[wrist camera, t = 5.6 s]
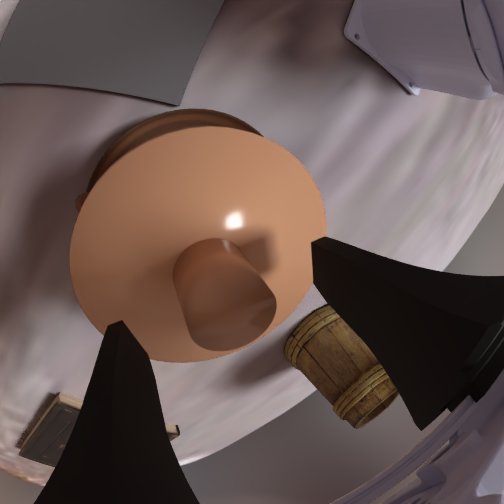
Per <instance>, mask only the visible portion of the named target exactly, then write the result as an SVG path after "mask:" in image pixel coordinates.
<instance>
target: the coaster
mask: <svg viewBox="0 0 504 504" xmlns="http://www.w3.org/2000/svg"><path fill="white" fill-rule="evenodd" d="M224 1H225V0H20V1H19V3H18V5H17V7H16V9H15V11H14V13H13V15H12V17H11V19H10V21H9V24H8V26H7V28H6V31H5V33H4V35H3V38H2V40H1V43H0V83H26V84H48V85H61V86H72V87H81V88H89V89H96V90H103V91H110V92H116V93H121V94H127V95H132V96H137V97H142V98H147V99H152V100H156V101H161V102H165V103H169V104H173V105H177V106H180V103H181V100H182V98H183V95H184V92H185V89H186V87H187V84H188V81H189V79H190V76H191V74H192V71H193V69H194V66H195V64H196V61H197V59H198V56H199V54H200V52H201V49H202V47H203V45H204V42H205V40H206V38H207V36H208V34H209V31H210V29H211V27H212V25H213V23H214V21H215V19H216V17H217V15H218V13H219V11H220V9H221V7H222V5H223V3H224Z"/></svg>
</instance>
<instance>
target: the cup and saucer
mask: <svg viewBox="0 0 504 504" xmlns="http://www.w3.org/2000/svg"><path fill="white" fill-rule="evenodd" d="M206 125H207V126H223V127H230V128H234V129H239V130H243V131H247V132H251V133H254V134H257V135H259V136H262V135H261V134H260V133H259V132H258V131H257V130H256V129H254V128H253V127H252V126H250V125H249V124H247V123H246V122H244V121H242V120H240V119H238V118H236V117H234V116H231V115H228V114H226V113H222V112H218V111H214V110H207V109H181V110H175V111H170V112H166V113H163V114H159V115H156V116H154V117H151V118H149V119H147V120H145V121H143V122H141V123H139V124H138V125H136V126H134V127H133V128H131V129H130V130H129V131H127V132H126V133H124V134H123V135H122V136H121V137H120V138H119V139H118V140H117V141H115V142H114V143H113V145H112V146H111V147H110V148H109V149H108V150H107V151H106V153H105V154H104V156H103V157H102V158H101V160H100V161H99V163H98V165H97V167H96V168H95V170H94V172H93V174H92V177H91V179H90V182H89V185H88V188H87V192H86V193H83V194H81V195H80V196H78V198H77V199H76V208H77V210H78V211H79V212H80V211H81V208H82V206H83V204H84V202H85V200H86V197H87V196H88V194H89V193H90V191H91V189H92V188H93V186H94V185H95V183H96V182H97V180H98V179H99V178H100V177H101V176H102V175H103V173H104V172H105V171H106V170H107V169H108V168H109V167H110V166H111V165H112V164H113V163H114V162H115V161H116V160H118V159H119V158H120V157H121V156H122V155H124V154H125V153H126V152H127V151H129V150H131V149H132V148H134V147H136V146H137V145H139V144H141V143H142V142H144V141H146V140H148V139H150V138H153V137H155V136H158V135H160V134H163V133H165V132H169V131H173V130H177V129H181V128H185V127H194V126H206ZM262 137H263V136H262Z"/></svg>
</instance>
